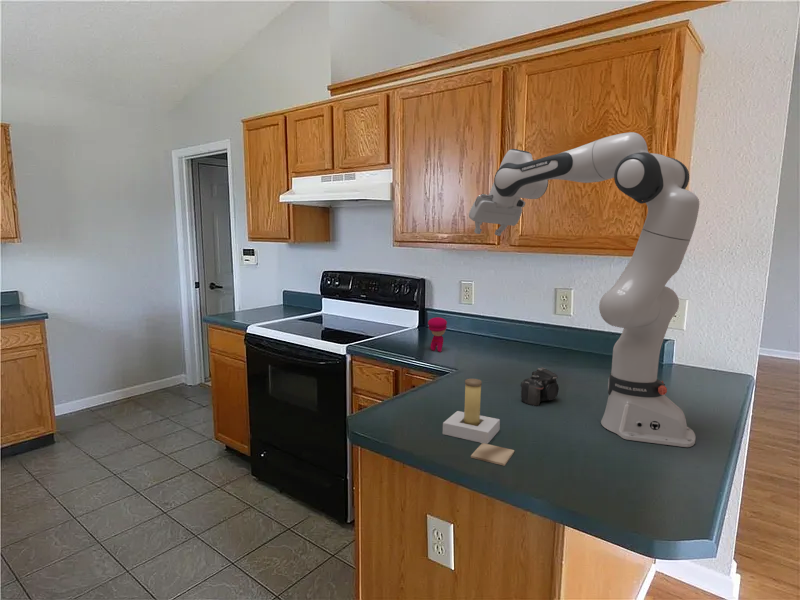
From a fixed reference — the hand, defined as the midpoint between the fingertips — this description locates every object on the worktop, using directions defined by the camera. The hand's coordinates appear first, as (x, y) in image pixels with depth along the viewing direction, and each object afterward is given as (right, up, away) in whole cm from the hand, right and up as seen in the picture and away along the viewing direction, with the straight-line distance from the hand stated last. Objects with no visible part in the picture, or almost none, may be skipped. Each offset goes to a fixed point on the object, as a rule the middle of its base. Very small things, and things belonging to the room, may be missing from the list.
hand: (487, 234), depth 170 cm
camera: (+14, -55, -17) cm, 59 cm away
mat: (-9, -59, -56) cm, 82 cm away
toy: (-14, -46, +44) cm, 65 cm away
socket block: (-12, -58, -43) cm, 73 cm away
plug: (-12, -58, -43) cm, 73 cm away
